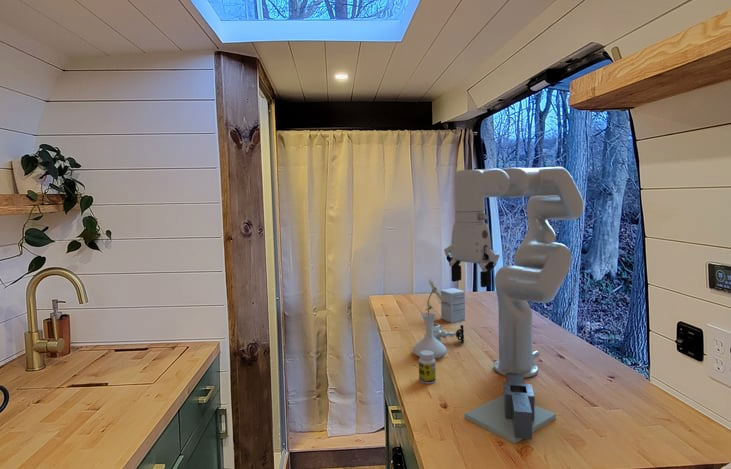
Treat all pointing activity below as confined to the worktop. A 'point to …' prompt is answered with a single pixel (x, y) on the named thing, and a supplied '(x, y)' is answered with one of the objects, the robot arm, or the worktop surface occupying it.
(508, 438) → the board
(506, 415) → the link
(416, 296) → the worktop surface
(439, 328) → the valve
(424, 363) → the supplement bottle
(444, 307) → the supplement box
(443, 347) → the flower in vase
